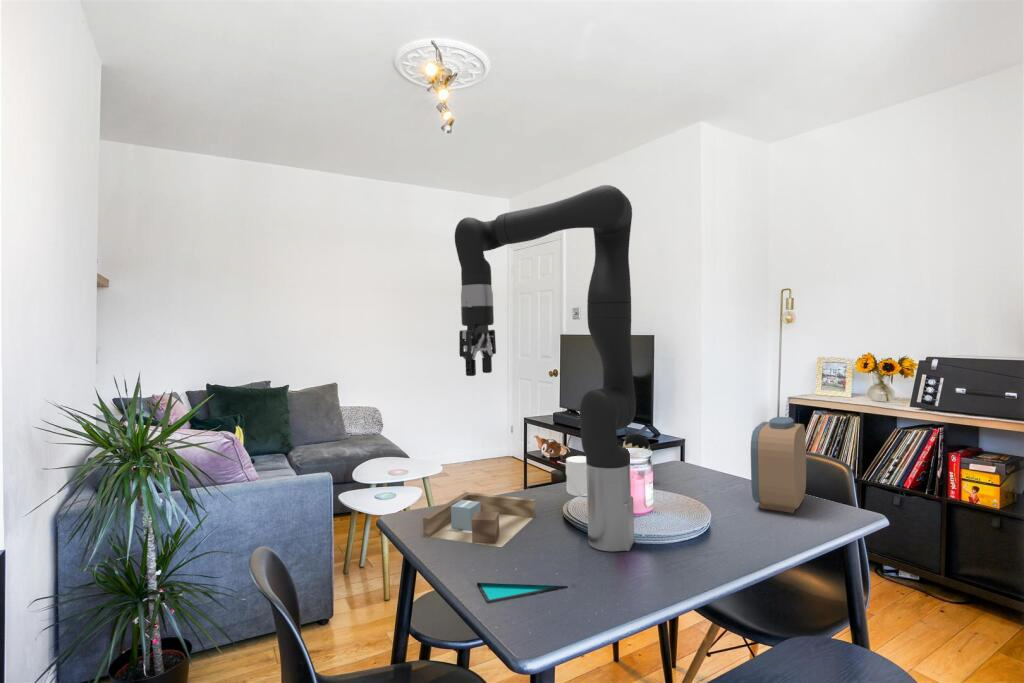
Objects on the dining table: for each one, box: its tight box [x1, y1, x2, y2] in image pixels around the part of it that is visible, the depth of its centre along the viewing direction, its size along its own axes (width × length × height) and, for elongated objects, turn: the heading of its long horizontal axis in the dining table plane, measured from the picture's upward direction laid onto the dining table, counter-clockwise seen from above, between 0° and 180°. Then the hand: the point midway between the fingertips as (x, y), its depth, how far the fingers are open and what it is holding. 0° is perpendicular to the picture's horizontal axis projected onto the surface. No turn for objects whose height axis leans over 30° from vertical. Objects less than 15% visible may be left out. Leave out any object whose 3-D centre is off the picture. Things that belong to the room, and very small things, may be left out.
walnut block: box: [471, 512, 499, 544], centre depth 114 cm, size 5×5×5 cm
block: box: [451, 500, 481, 531], centre depth 122 cm, size 5×5×5 cm
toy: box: [622, 433, 653, 465], centre depth 155 cm, size 9×7×15 cm
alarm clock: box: [750, 416, 807, 514], centre depth 135 cm, size 21×10×22 cm, turn 144°
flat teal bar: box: [476, 582, 569, 604], centre depth 95 cm, size 7×1×15 cm
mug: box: [565, 455, 587, 497], centre depth 149 cm, size 12×9×8 cm
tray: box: [422, 491, 536, 548], centre depth 123 cm, size 19×20×5 cm
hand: (479, 374), depth 124 cm, fingers open, 8 cm apart
